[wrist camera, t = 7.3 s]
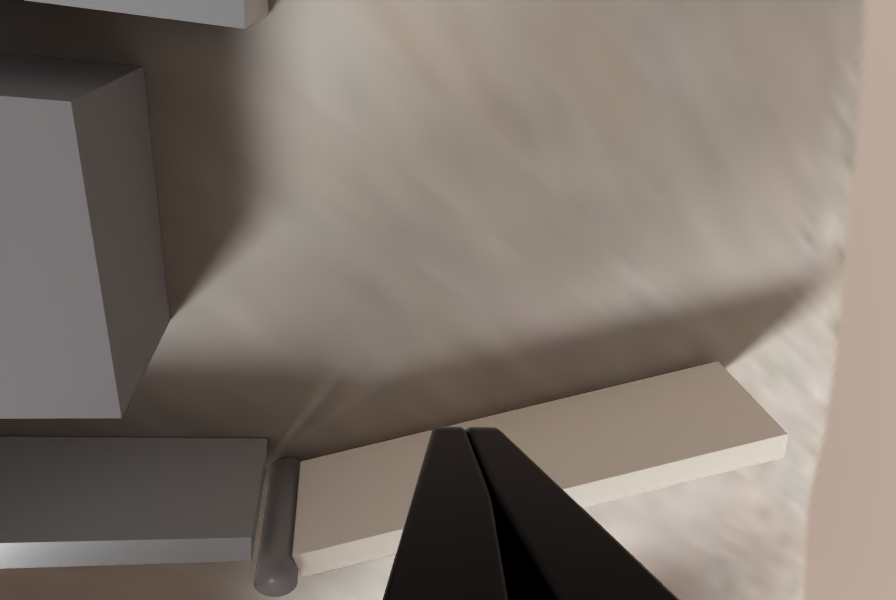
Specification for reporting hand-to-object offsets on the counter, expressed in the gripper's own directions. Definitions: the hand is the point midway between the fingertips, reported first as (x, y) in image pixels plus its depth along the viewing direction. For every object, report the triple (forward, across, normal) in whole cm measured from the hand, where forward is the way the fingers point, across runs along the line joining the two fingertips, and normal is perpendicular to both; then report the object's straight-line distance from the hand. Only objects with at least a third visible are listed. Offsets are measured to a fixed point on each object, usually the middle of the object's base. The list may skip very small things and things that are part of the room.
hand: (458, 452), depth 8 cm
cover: (+8, -3, +6) cm, 11 cm away
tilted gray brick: (+8, +8, 0) cm, 11 cm away
